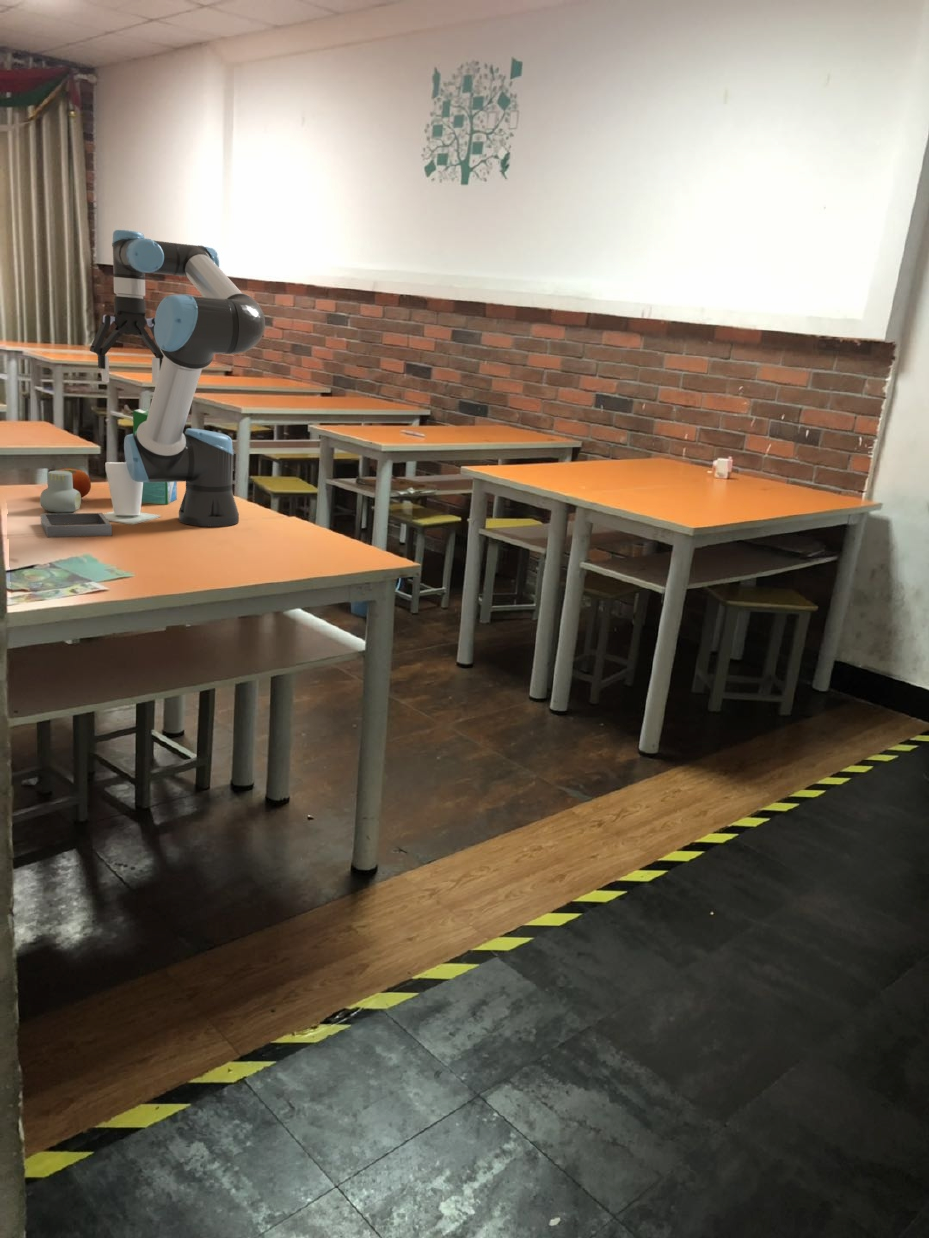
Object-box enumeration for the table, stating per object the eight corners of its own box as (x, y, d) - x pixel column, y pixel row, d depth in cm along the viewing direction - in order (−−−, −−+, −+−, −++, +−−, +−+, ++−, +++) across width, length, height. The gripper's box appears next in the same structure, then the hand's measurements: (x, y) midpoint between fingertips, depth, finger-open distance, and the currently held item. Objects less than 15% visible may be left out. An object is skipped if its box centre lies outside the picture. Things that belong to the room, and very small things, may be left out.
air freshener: (73, 516, 242) (72, 477, 239) (38, 514, 240) (36, 475, 237) (83, 508, 252) (81, 470, 249) (49, 506, 250) (48, 468, 248)
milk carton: (166, 504, 264) (166, 413, 257) (134, 502, 264) (132, 410, 257) (176, 499, 273) (176, 410, 266) (145, 496, 273) (144, 407, 266)
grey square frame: (102, 522, 238) (102, 512, 237) (111, 535, 226) (111, 525, 225) (40, 524, 231) (40, 513, 230) (47, 537, 219) (47, 526, 218)
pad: (160, 517, 249) (160, 515, 249) (133, 524, 238) (133, 523, 238) (120, 510, 252) (120, 509, 252) (91, 518, 241) (91, 516, 241)
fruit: (56, 494, 265) (55, 465, 263) (95, 496, 267) (94, 468, 264) (44, 501, 255) (43, 471, 253) (85, 504, 257) (84, 474, 254)
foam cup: (106, 513, 248) (104, 462, 245) (144, 512, 251) (142, 462, 249) (109, 516, 239) (106, 463, 237) (148, 515, 243) (146, 463, 240)
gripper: (168, 299, 252) (169, 382, 259) (74, 291, 235) (77, 380, 242) (182, 301, 247) (182, 385, 254) (87, 293, 230) (89, 383, 237)
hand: (131, 383), depth 248 cm, fingers open, 13 cm apart
